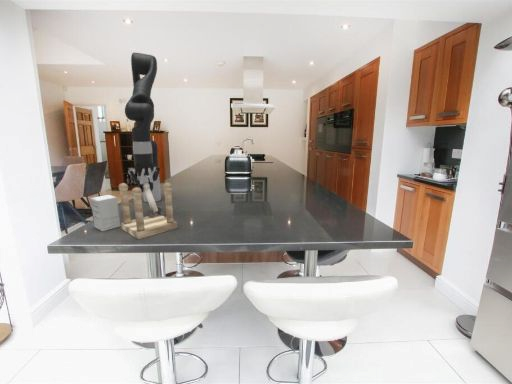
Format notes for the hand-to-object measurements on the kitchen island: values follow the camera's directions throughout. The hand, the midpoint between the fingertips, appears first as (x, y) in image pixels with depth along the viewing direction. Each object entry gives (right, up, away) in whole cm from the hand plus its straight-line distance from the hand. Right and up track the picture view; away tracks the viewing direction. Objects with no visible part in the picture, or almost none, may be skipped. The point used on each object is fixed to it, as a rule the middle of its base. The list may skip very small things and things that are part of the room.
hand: (146, 191), depth 118 cm
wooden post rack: (+6, -15, -10) cm, 19 cm away
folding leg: (+5, -9, -3) cm, 11 cm away
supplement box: (-12, -15, -9) cm, 21 cm away
